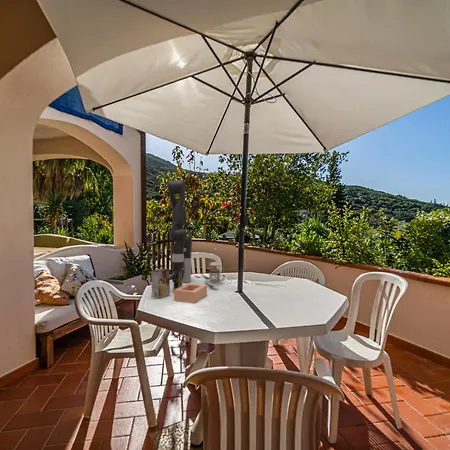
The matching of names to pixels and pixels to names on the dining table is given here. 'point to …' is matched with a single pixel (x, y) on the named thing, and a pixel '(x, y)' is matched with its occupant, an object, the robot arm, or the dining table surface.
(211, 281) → the french press
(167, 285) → the coffee box
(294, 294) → the dining table surface
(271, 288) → the dining table surface
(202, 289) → the orange rectangular frame
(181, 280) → the walnut post
